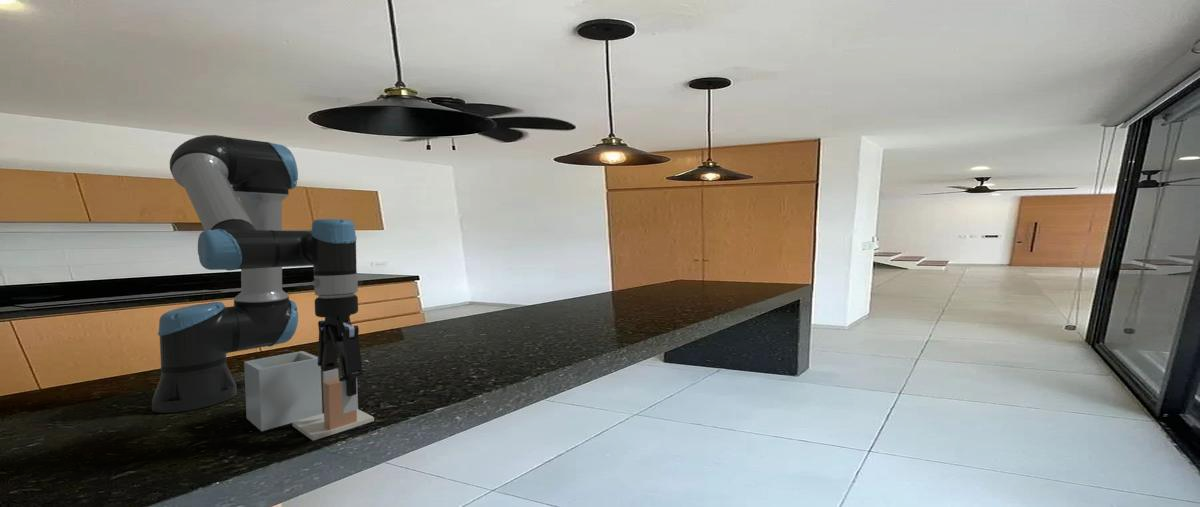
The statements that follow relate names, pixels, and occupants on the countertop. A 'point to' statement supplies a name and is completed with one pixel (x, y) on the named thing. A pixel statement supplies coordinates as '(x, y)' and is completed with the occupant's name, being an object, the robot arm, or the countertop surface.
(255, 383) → the tub
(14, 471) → the countertop surface
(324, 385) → the lid
